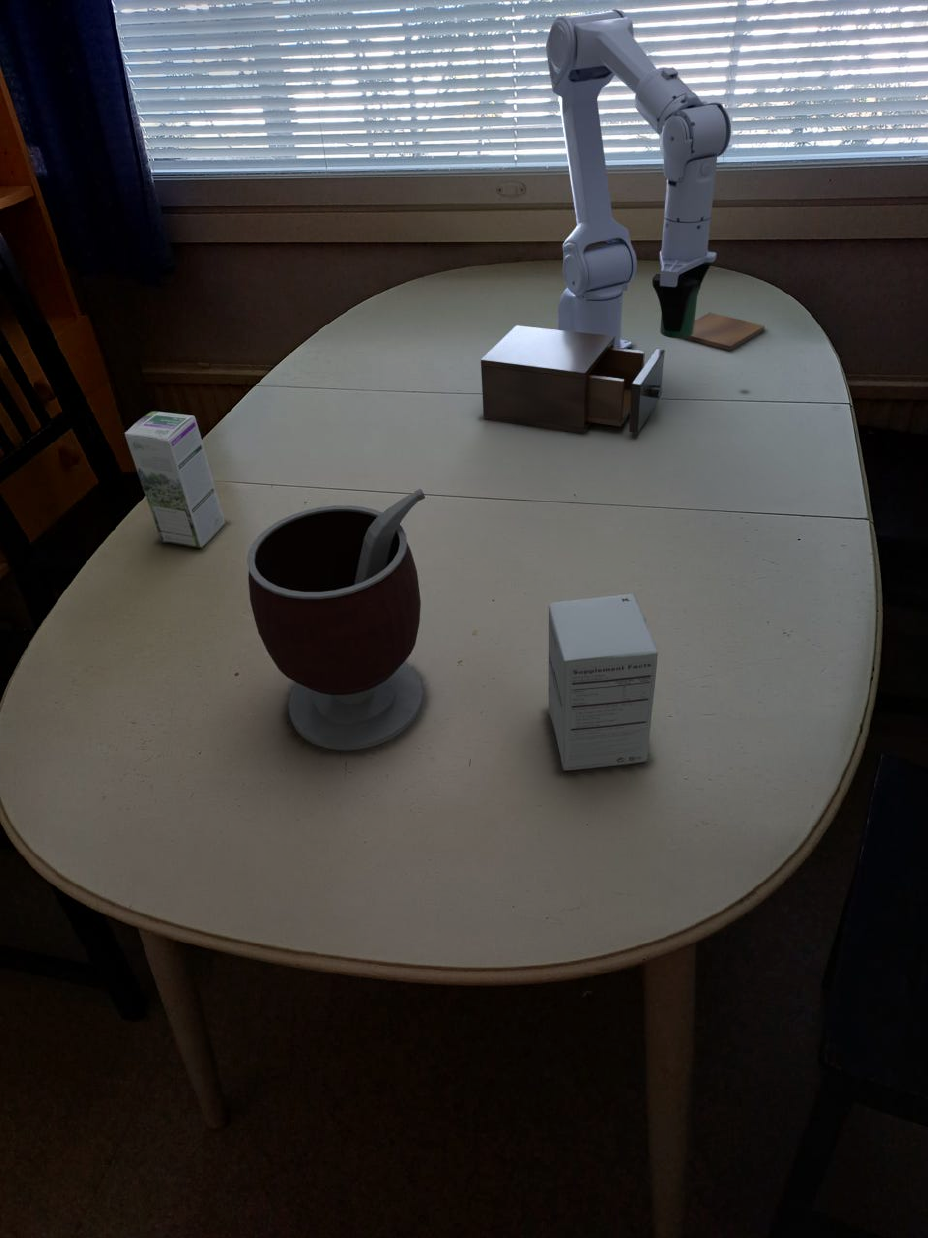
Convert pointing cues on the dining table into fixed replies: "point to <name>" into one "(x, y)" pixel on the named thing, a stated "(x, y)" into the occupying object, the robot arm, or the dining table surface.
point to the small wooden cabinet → (541, 377)
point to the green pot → (689, 317)
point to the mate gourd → (341, 620)
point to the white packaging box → (601, 681)
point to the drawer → (624, 387)
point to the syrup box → (176, 478)
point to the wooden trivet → (723, 331)
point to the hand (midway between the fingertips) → (677, 322)
